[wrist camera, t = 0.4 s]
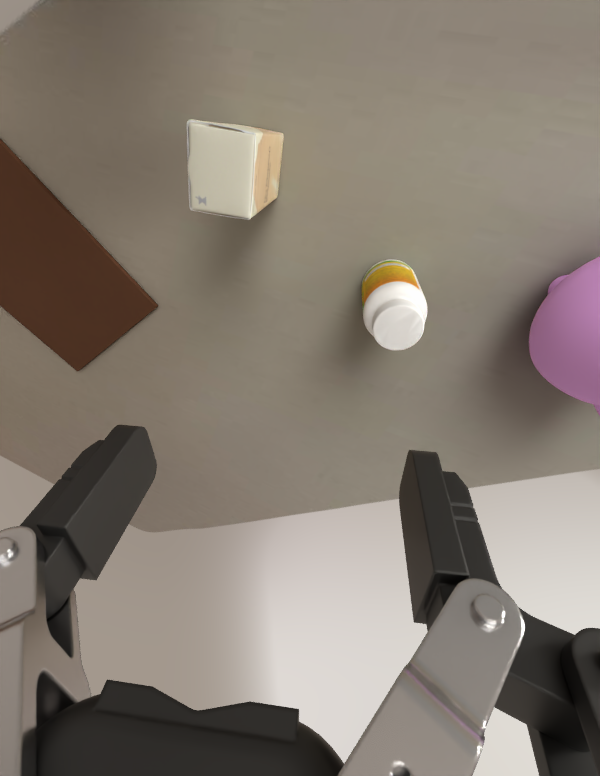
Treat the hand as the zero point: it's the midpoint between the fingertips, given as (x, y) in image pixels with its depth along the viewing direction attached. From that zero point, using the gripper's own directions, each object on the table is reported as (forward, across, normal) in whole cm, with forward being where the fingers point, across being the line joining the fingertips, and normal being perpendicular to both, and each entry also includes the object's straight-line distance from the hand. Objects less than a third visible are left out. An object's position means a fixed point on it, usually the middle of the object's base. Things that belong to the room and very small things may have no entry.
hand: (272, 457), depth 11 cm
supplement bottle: (+29, -6, +4) cm, 30 cm away
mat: (+29, +31, +4) cm, 43 cm away
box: (+29, +6, -6) cm, 30 cm away
